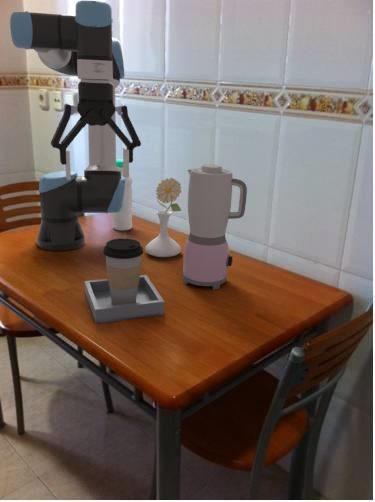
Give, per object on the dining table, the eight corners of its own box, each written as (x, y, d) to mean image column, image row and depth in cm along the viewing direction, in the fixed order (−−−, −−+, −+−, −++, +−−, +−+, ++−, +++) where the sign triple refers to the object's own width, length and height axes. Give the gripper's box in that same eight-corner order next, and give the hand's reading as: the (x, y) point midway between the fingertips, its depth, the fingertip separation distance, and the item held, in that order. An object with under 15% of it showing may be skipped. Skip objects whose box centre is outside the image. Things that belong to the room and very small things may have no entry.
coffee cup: (136, 312, 107) (136, 252, 102) (98, 307, 109) (96, 248, 103) (147, 295, 116) (148, 239, 111) (111, 291, 117) (110, 235, 112)
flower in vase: (137, 252, 146) (138, 174, 138) (165, 245, 154) (167, 171, 145) (163, 265, 137) (165, 182, 129) (191, 257, 145) (195, 178, 136)
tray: (85, 293, 117) (84, 281, 116) (146, 287, 122) (146, 275, 121) (95, 323, 103) (95, 309, 102) (163, 314, 108) (164, 301, 107)
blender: (177, 286, 123) (181, 167, 112) (187, 270, 134) (192, 160, 123) (235, 294, 120) (246, 173, 109) (241, 277, 131) (251, 165, 120)
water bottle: (125, 224, 174) (125, 157, 165) (135, 229, 169) (136, 160, 160) (109, 227, 170) (108, 159, 161) (119, 232, 165) (118, 162, 156)
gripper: (37, 80, 93) (44, 183, 100) (155, 84, 101) (153, 178, 109) (34, 78, 99) (41, 175, 107) (145, 82, 108) (144, 172, 116)
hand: (97, 177), depth 108 cm, fingers open, 13 cm apart
